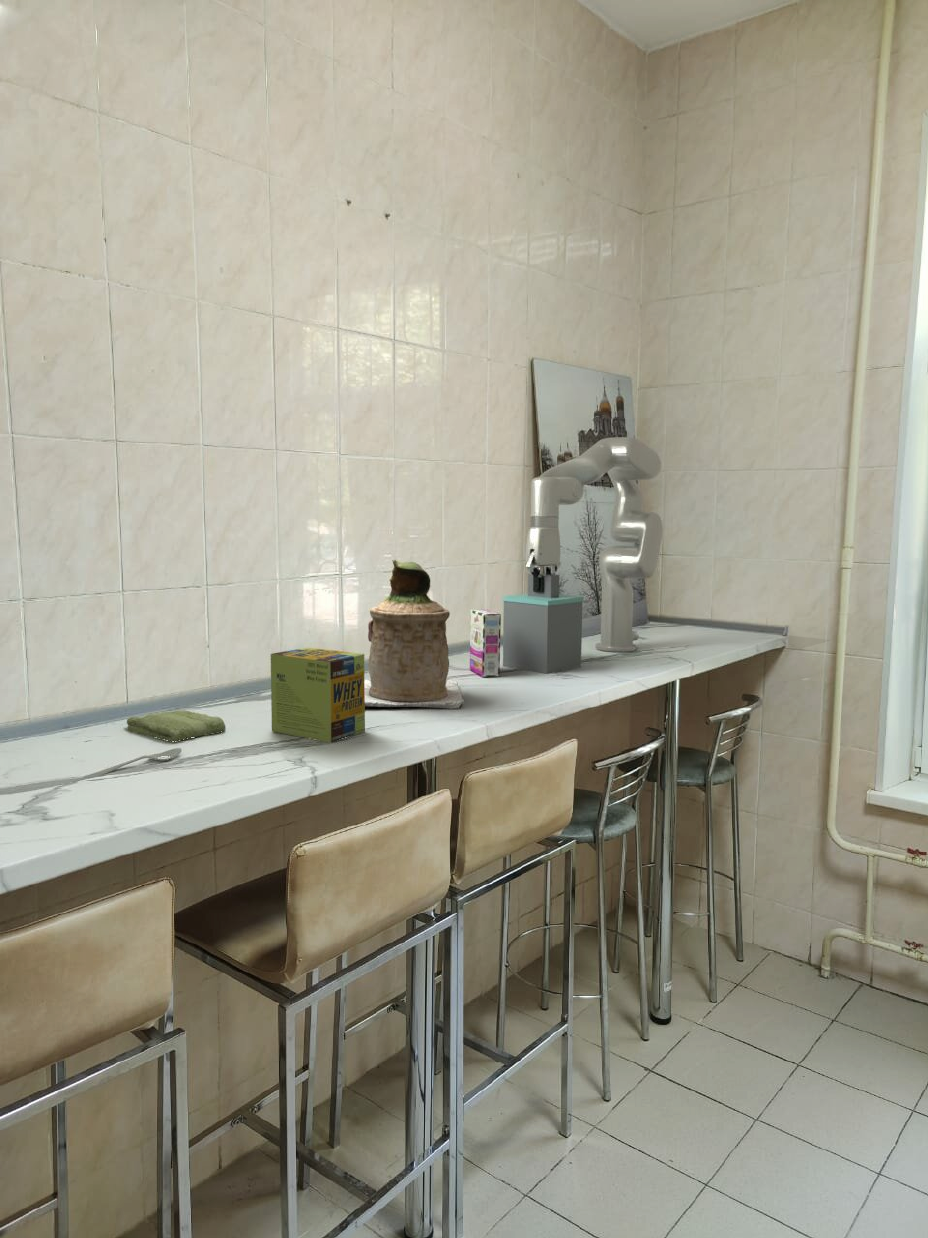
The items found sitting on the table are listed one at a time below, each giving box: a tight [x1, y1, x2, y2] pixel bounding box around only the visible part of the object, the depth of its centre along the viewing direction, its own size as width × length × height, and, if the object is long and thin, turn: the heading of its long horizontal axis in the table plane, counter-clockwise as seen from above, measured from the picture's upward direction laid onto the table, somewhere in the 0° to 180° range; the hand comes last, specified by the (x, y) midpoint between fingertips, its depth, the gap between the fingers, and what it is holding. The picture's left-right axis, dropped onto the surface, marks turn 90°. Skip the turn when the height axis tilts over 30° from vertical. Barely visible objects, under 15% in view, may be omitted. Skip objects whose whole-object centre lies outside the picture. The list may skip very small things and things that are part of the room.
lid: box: [502, 573, 585, 606], centre depth 242 cm, size 16×16×7 cm
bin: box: [502, 601, 583, 674], centre depth 243 cm, size 15×15×18 cm
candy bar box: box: [469, 609, 502, 678], centre depth 232 cm, size 11×5×16 cm, turn 18°
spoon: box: [83, 747, 182, 779], centre depth 150 cm, size 4×21×2 cm, turn 140°
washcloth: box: [126, 709, 226, 743], centre depth 174 cm, size 13×18×3 cm
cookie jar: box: [364, 558, 464, 710], centre depth 202 cm, size 25×25×32 cm
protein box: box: [270, 647, 366, 743], centre depth 173 cm, size 10×15×16 cm
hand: (543, 590), depth 242 cm, fingers closed on lid, 3 cm apart
